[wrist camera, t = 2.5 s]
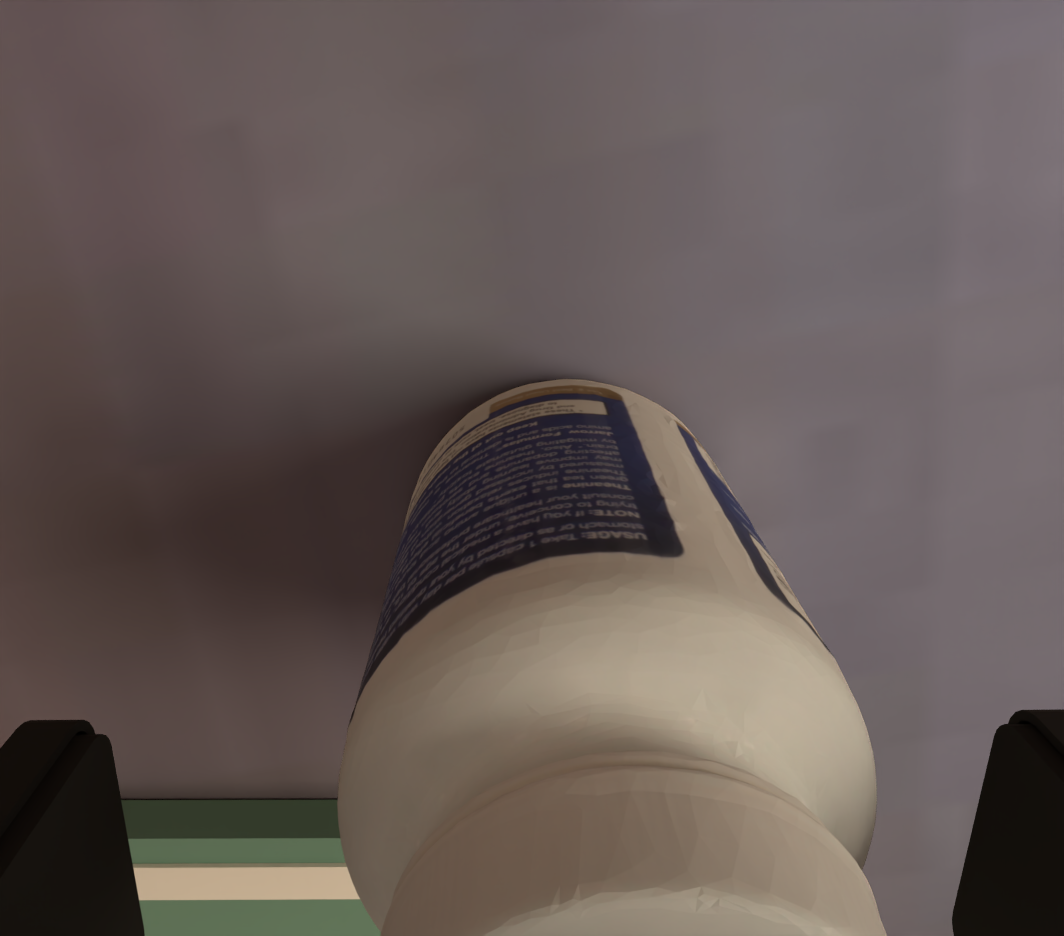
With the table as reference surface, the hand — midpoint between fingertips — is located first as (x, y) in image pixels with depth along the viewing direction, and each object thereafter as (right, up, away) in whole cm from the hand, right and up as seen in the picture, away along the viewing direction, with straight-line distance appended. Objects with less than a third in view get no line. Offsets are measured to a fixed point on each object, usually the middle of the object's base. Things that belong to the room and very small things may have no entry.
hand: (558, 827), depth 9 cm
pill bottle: (0, +3, +6) cm, 7 cm away
